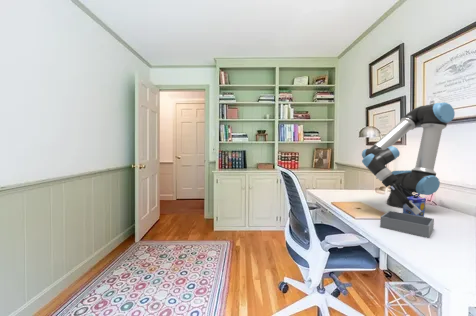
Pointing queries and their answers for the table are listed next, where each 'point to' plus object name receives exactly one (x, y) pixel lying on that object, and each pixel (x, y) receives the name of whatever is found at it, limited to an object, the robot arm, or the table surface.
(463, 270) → the table surface
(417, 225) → the box
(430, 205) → the table surface
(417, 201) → the ink cartridge box
